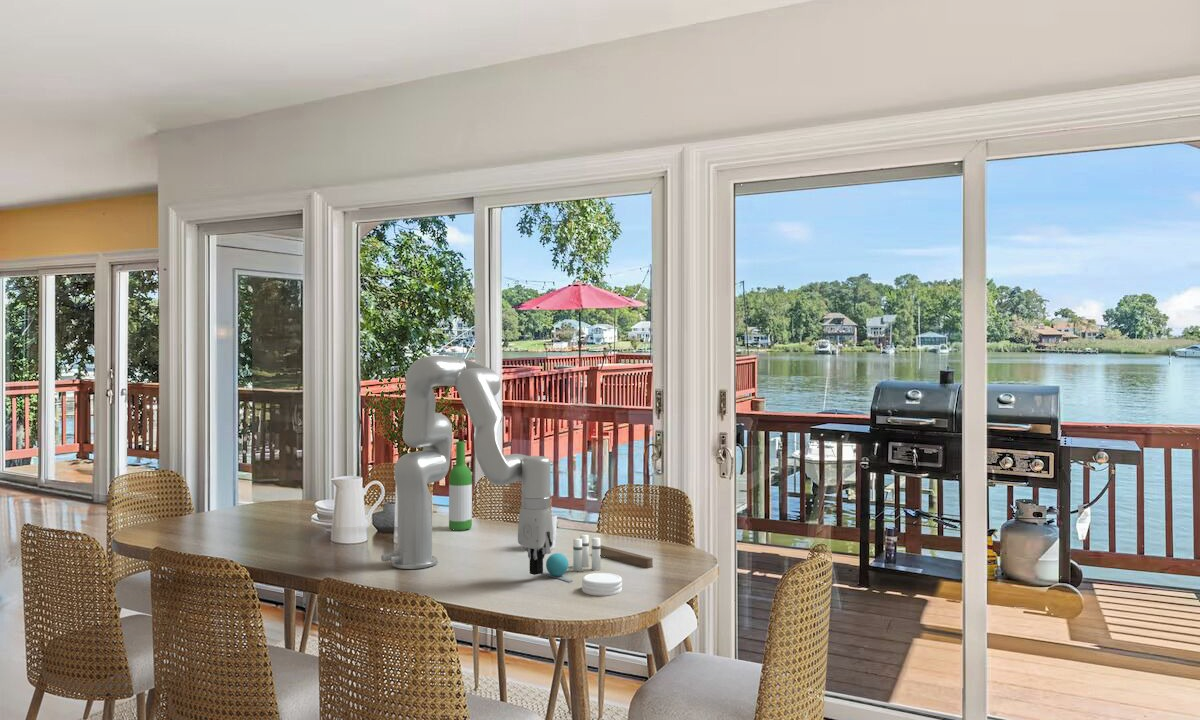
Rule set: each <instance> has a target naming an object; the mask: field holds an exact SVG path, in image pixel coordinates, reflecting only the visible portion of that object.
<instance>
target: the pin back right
mask: <svg viewBox="0 0 1200 720" xmlns="http://www.w3.org/2000/svg"><path fill="white" fill-rule="evenodd" d="M600 549H601V538H600V537H591V570H592V571H600V570H601V556H600Z"/></svg>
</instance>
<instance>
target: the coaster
mask: <svg viewBox="0 0 1200 720" xmlns="http://www.w3.org/2000/svg"><path fill="white" fill-rule="evenodd" d="M581 580H582V581H581V582H582V583H581V585H582V587H581V590H582V592H583V593H584V594H587V595H590V596H598V597H599V596H601V597H604V596H606V597H607V596H614V595H618V594H619V593H621V592H622V591H623V578H622V576H621V575H618V574H615V573H611V572H610V573H609V572H595V573H594V572H593V573H589V574H586V575H584V576H582V579H581Z"/></svg>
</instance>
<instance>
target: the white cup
mask: <svg viewBox="0 0 1200 720" xmlns="http://www.w3.org/2000/svg"><path fill="white" fill-rule="evenodd" d="M551 515H552V524H553V545H552V547H550V549H551V548H554V547H555V548H556V542H557V541H556V539H557V531H558V529H557V527H558V526H557V525H558V524H557V523H558V515H557V514H555V513H551ZM555 548H554V549H555ZM551 550H552V549H551Z"/></svg>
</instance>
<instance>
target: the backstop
mask: <svg viewBox="0 0 1200 720" xmlns="http://www.w3.org/2000/svg"><path fill="white" fill-rule="evenodd" d="M600 545H601V544H600ZM600 555H601V556H600V557H603V556H605V557H604V558H607V557H608V558H607V559H611V558H612V559H611V560H615V561H618V560H619V561H618V562H622V561H623V562H622V563H626V562H627V563H626V564H630V565H633V564H634V565H635V566H638V567H641V568H645V569H650V568H653V562H654V561H653V559H654V557H650V556H646V555H643V554H642V555H641V554H638V553H634V552H629V551H626V550H621V549H618V548H613V547H610V546H605V545H601V549H600ZM634 565H633V566H634Z"/></svg>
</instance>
